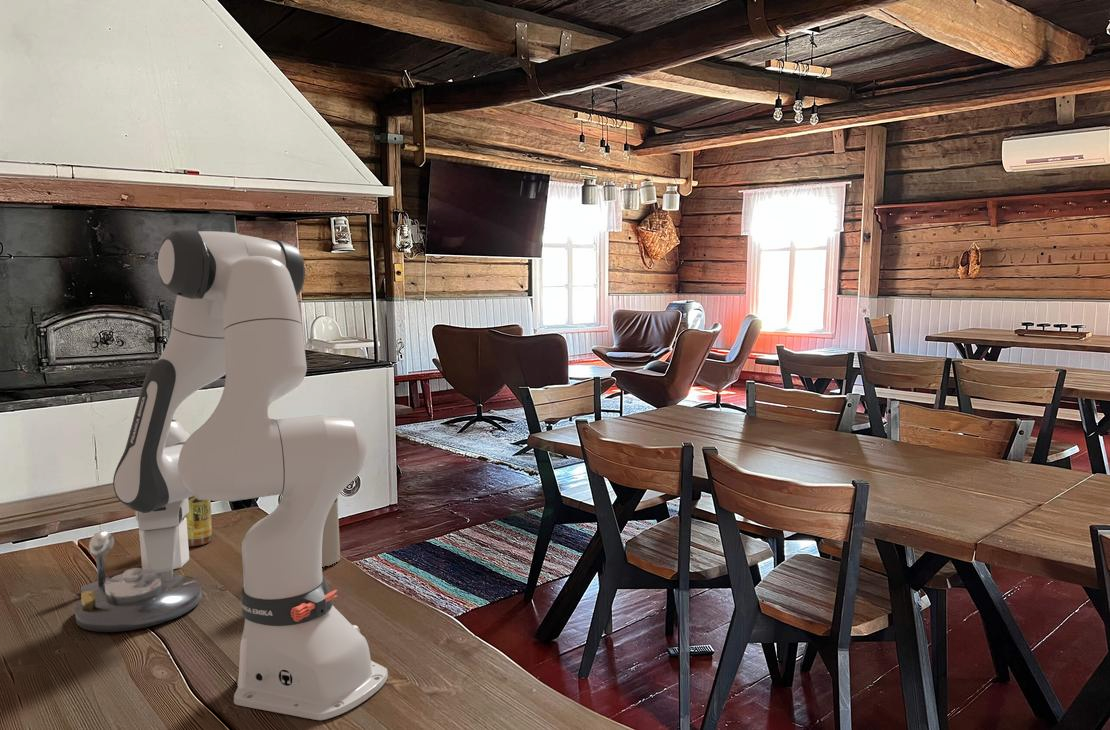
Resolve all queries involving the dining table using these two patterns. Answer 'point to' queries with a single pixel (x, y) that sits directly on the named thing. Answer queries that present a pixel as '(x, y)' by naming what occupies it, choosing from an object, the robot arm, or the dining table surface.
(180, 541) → the jar
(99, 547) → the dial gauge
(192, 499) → the sauce bottle
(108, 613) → the turntable
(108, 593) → the cover
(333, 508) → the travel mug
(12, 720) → the dining table surface
